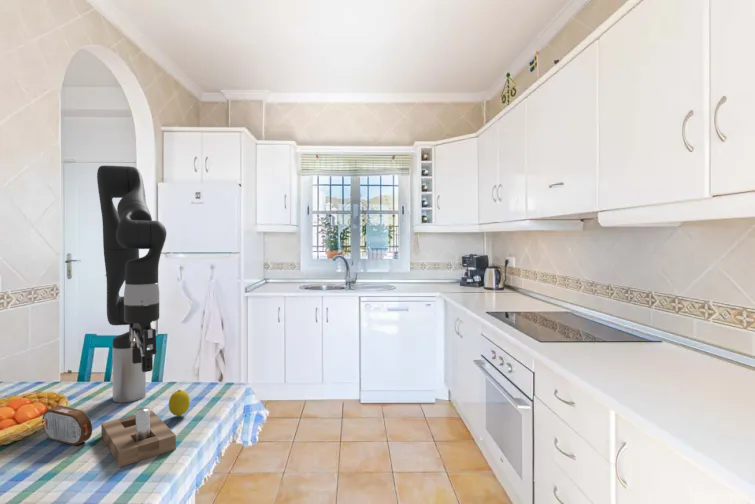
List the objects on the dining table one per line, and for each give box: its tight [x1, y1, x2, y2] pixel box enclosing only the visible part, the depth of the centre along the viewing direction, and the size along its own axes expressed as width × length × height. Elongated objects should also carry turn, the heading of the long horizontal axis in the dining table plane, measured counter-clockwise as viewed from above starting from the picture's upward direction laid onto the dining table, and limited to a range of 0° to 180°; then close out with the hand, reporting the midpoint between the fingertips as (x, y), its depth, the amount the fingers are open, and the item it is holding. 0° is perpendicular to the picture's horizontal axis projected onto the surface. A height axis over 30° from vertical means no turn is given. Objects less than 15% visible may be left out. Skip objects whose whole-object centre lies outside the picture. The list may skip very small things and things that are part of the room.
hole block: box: [100, 410, 177, 468], centre depth 103 cm, size 20×12×4 cm, turn 44°
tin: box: [42, 404, 93, 446], centre depth 104 cm, size 15×3×8 cm, turn 71°
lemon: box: [168, 389, 191, 418], centre depth 119 cm, size 6×6×8 cm
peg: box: [135, 406, 151, 442], centre depth 100 cm, size 3×3×10 cm
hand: (142, 367), depth 100 cm, fingers open, 8 cm apart
